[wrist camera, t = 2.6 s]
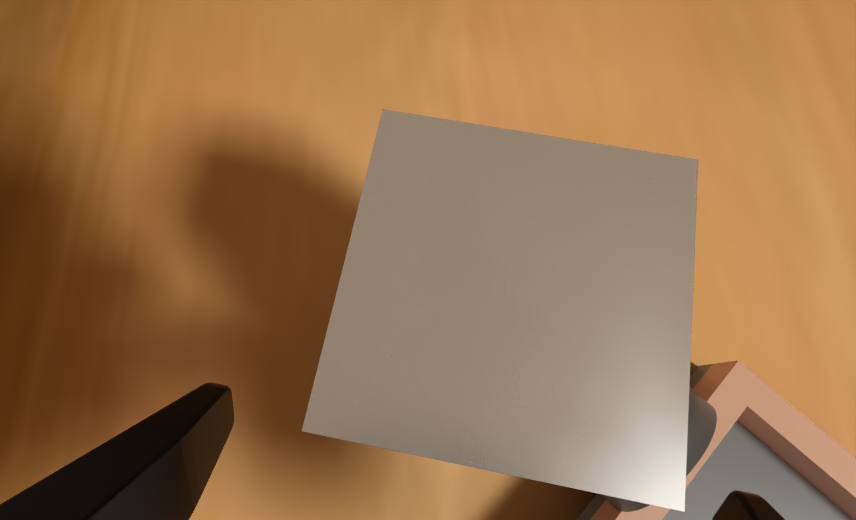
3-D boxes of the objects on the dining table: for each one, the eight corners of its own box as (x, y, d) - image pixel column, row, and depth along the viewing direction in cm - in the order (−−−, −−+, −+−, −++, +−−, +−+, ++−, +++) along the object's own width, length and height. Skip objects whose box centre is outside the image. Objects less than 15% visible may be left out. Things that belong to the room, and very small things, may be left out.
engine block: (512, 434, 17) (684, 511, 5) (392, 409, 18) (301, 431, 6) (529, 314, 19) (698, 160, 7) (416, 293, 19) (382, 108, 7)
